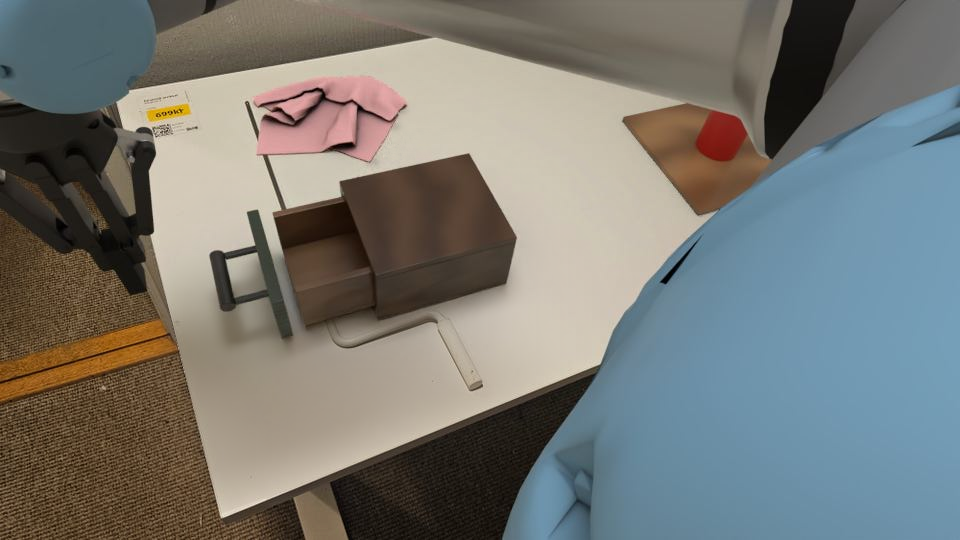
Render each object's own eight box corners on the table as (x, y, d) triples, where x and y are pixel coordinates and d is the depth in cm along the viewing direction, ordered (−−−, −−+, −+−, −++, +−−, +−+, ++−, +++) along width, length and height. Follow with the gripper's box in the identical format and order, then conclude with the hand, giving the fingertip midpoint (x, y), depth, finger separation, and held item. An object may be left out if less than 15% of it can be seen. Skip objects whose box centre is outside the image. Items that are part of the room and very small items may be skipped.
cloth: (424, 99, 90) (424, 85, 88) (343, 192, 78) (342, 178, 76) (307, 54, 94) (305, 40, 92) (212, 136, 81) (207, 121, 80)
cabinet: (378, 321, 67) (375, 275, 60) (345, 231, 74) (339, 180, 67) (506, 283, 72) (517, 237, 65) (463, 202, 79) (469, 152, 72)
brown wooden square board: (809, 183, 88) (812, 179, 87) (697, 215, 82) (700, 211, 81) (727, 98, 98) (729, 93, 97) (622, 120, 92) (623, 116, 91)
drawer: (234, 353, 62) (218, 318, 57) (215, 261, 69) (198, 221, 63) (414, 301, 68) (414, 265, 63) (380, 221, 74) (378, 182, 69)
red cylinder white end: (744, 156, 89) (797, 68, 77) (711, 165, 87) (760, 76, 75) (720, 130, 92) (767, 41, 80) (687, 137, 90) (731, 48, 78)
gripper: (116, 25, 43) (203, 236, 62) (-108, 52, 39) (58, 269, 58) (126, 90, 39) (215, 294, 58) (-122, 128, 35) (61, 334, 54)
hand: (137, 282), depth 58 cm, fingers closed
